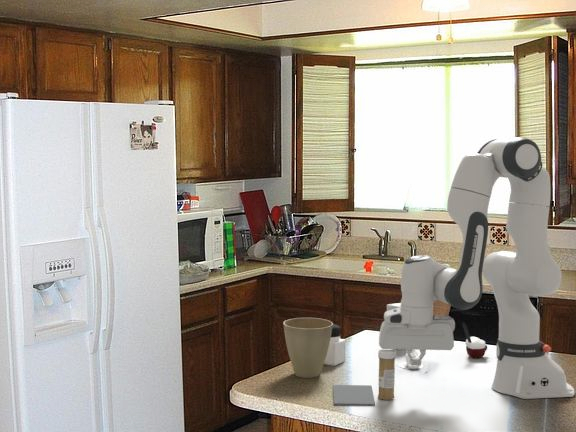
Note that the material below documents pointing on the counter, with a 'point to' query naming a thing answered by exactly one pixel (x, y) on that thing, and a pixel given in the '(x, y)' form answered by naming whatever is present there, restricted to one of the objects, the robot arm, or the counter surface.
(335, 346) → the medicine bottle
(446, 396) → the counter surface
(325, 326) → the plant pot
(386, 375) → the sprinkles bottle
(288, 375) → the counter surface
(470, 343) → the cocoa
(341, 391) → the mat
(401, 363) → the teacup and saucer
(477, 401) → the counter surface
